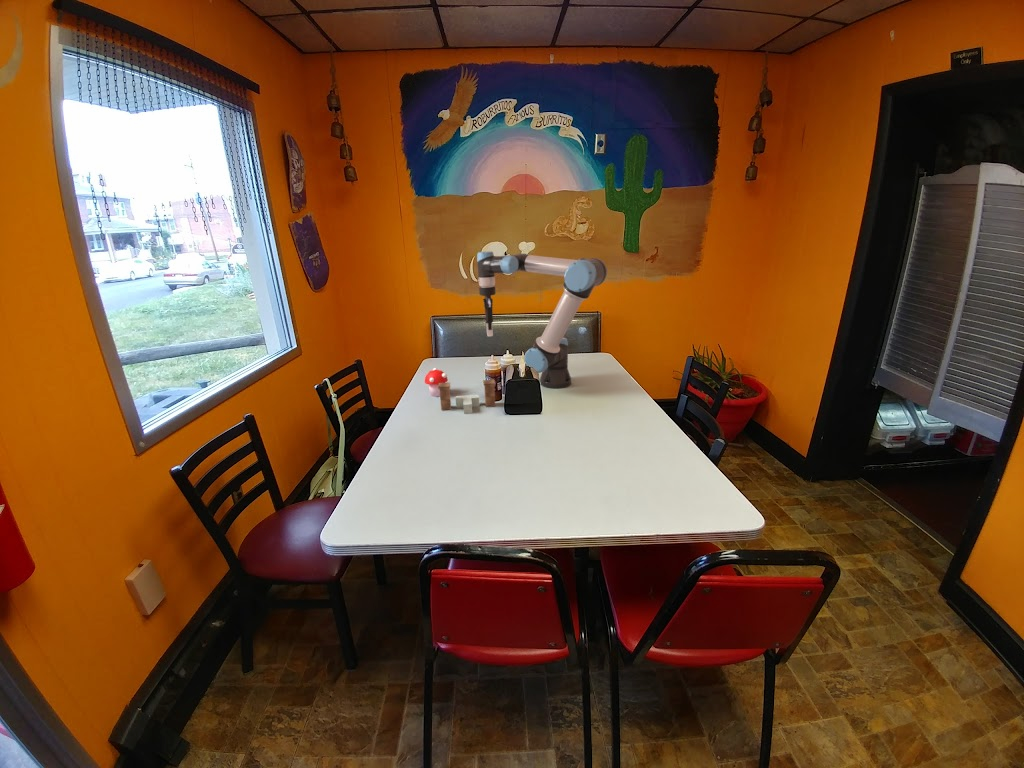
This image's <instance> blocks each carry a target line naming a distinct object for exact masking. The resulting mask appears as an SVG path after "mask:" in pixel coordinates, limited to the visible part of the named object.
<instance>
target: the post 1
mask: <svg viewBox="0 0 1024 768" xmlns="http://www.w3.org/2000/svg"><path fill="white" fill-rule="evenodd" d="M450 388H451V382H449V381H448V382H446V383H439V385H438V389H440V396H439V397H440V399H439V400H440V409H441V411H451V410H452V402H451V389H450Z"/></svg>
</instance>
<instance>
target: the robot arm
mask: <svg viewBox="0 0 1024 768" xmlns="http://www.w3.org/2000/svg"><path fill="white" fill-rule="evenodd" d="M476 258H477V260H476V264H477V271H478V273H477V274H478V275H477V276H478V279H477V282H478V286H479V287H478V290H479V295H480V296H481V297H482V296H484V298H483V299H482V300H483V305H484V306H483V307H484V312H485V313H484V316H485V324H486V335H487V337H494V332H493V331H494V330H493V329H494V327H493V322H494V317H493V303H494V302H493V298H492V296H494V295H496V293H497V292H496V286H495V285H496V276H495V275H496V274H506V275H509V274H510V275H511V274H515V273H516V272H526V273H536V274H543V275H550V276H557V277H558V276H559V277H564V283H563V285H562V288H563V293H562V295H561V297H560V298H559V301H558V302H557V304H556V307H555V308H554V311H553V312H552V314H551V317H550V319H549V320H548V323H547V325H546V326H545V329H544V331H543V332H542V335H541V336H538V337H536V339H535V341H534V343H533V345H532V347H531V348H529V349H528V350H527V351H526V352H525V353H524V358H523V359H524V362H525V365H526V367H527V366H529V367H533V368H534V369H535V370H536V371H537V372H538V373H537V374H540V373H541V375H540V378H539V383H540V382H541V384H540V385H541V386H542V387H545V388H549V389H562V388H567V387H569V386H571V384H572V377H571V374H570V371H569V369H568V365H569V364H568V363H569V362H568V361H569V358H568V357H569V356H568V355H569V342H568V341H569V339H567V338H566V337H564V336H565V335H566V333H567V331H568V329H569V327H570V325H571V323H572V321H573V319H574V318H575V316H576V315H577V314H576V313H577V312H578V310H579V308H580V306H582V305H581V304H582V303H583V301H584V300H588V299H589V297H590V295H591V294H592V292H593V290H594V288H596V287H598V286H601V285H602V284H603V283H604V282H605V280H606V279H607V276H608V268H607V266H606V264H605V262H604V261H603V260H602V259H600V258H596V257H591V258H585V257H580V258H579V259H573V258H572V259H570V258H560V257H550V256H541V255H532V254H528V253H517V254H511V255H509V254H508V255H497V256H496V255H494V252H493V251H490V250H489V251H488V250H487V251H479V252H477V256H476Z"/></svg>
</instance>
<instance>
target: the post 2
mask: <svg viewBox="0 0 1024 768" xmlns="http://www.w3.org/2000/svg"><path fill="white" fill-rule="evenodd" d="M482 380H483V381H482V383H483V386H484V402H485V408H492V407H493V408H494V407H496V395H495V393H496V392H495V385H496V382H495V379H482Z"/></svg>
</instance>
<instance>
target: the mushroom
mask: <svg viewBox="0 0 1024 768" xmlns="http://www.w3.org/2000/svg"><path fill="white" fill-rule="evenodd" d="M448 382H449V380H448V374H447V373H446V372H444V371H443V370H441V369H440V370H439V369H438V368H436V367H434V368H433V369H432V370H429V371H428V373H427V374H426V375H425V377H424V383H425V385H428V388H429V389H428V390H429V393H430V395H431V397H436V398H438V397H440V389H438V385H439V383H448Z"/></svg>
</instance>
